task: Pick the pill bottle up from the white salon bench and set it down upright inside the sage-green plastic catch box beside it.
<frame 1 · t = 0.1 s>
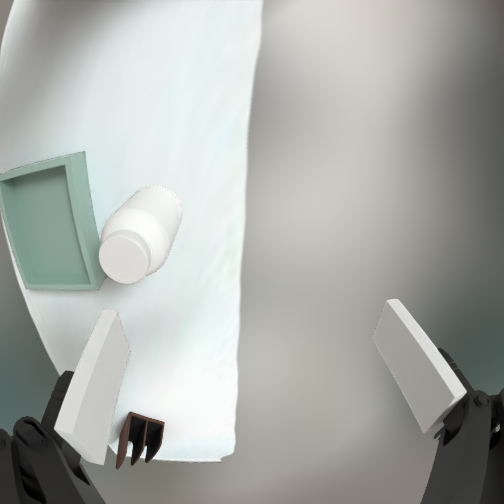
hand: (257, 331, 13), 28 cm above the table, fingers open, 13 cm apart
letter holder: (140, 428, 65), on the table
pill bottle: (155, 210, 38), on the table
catch box: (54, 221, 36), on the table
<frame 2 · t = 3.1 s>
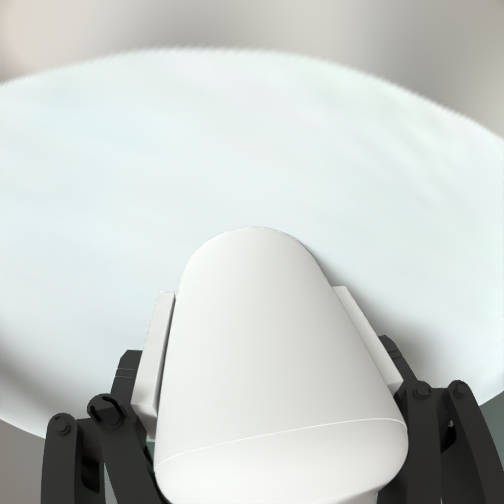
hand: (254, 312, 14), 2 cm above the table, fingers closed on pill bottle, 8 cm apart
pill bottle: (250, 286, 16), on the table, touching gripper
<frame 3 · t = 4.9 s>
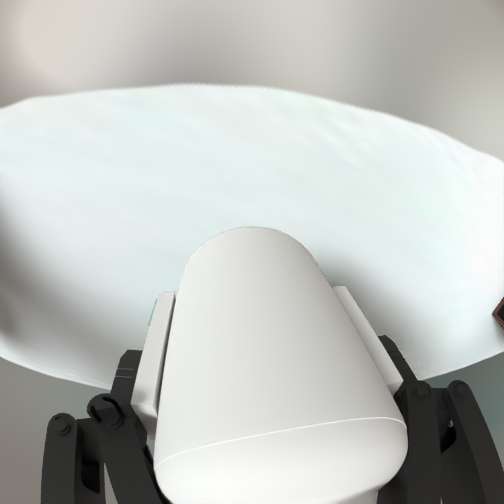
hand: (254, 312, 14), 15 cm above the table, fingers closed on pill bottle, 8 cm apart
pill bottle: (250, 286, 16), point 13 cm above the table, touching gripper
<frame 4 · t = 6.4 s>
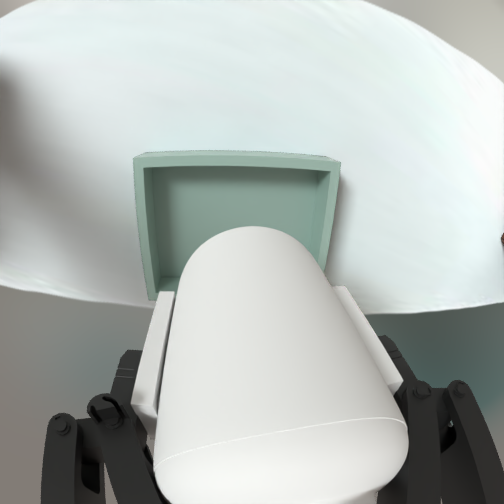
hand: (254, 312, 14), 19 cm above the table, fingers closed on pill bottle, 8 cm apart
pill bottle: (250, 285, 16), point 17 cm above the table, touching gripper
catch box: (234, 220, 32), on the table
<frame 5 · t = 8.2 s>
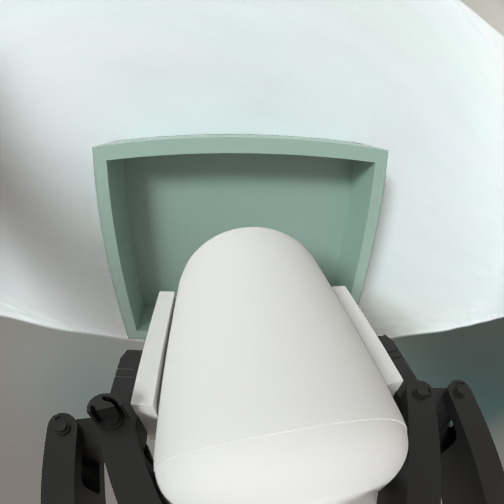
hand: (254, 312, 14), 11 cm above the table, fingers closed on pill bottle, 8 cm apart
pill bottle: (250, 286, 16), point 8 cm above the table, touching gripper
catch box: (239, 230, 24), on the table
when the fingers open (6 cm above the table, at t = 9.6 s): pill bottle drops 2 cm, resting on catch box.
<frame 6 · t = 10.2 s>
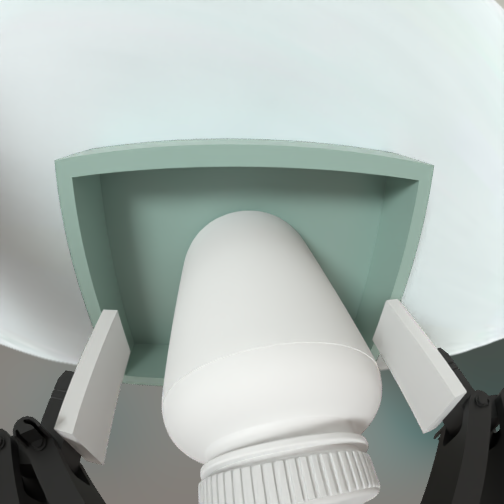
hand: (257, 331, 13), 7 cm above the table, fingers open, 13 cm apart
pill bottle: (246, 264, 18), point 1 cm above the table, touching catch box
catch box: (245, 259, 19), on the table
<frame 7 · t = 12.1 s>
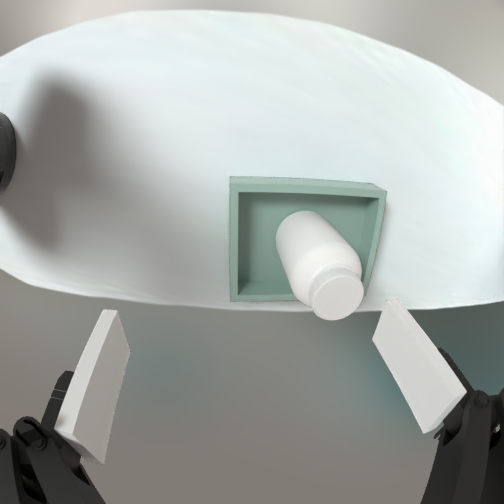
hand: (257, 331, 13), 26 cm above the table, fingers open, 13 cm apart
pill bottle: (302, 236, 39), point 1 cm above the table, touching catch box
catch box: (301, 234, 39), on the table
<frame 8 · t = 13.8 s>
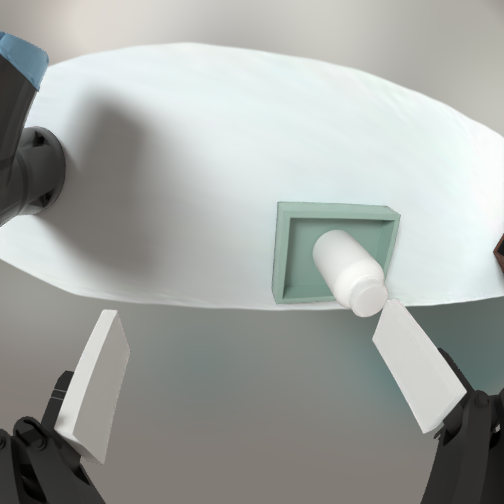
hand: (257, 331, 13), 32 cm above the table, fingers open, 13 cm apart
pill bottle: (332, 249, 47), point 1 cm above the table, touching catch box
catch box: (331, 247, 48), on the table
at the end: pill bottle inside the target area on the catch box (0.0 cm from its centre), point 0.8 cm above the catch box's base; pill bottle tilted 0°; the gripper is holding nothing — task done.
